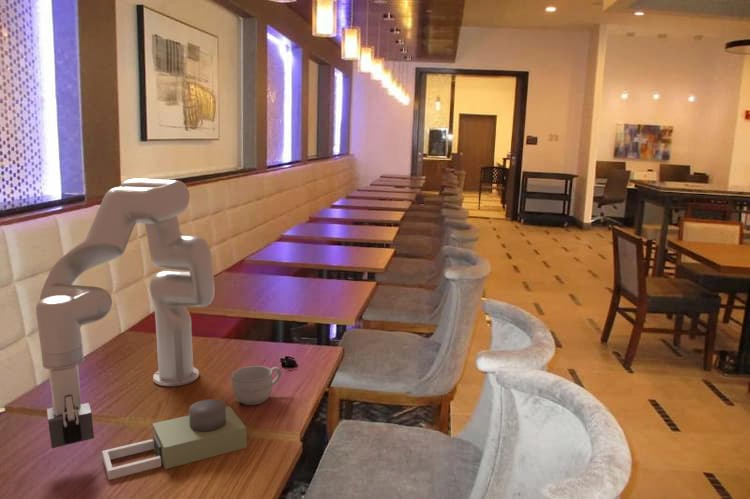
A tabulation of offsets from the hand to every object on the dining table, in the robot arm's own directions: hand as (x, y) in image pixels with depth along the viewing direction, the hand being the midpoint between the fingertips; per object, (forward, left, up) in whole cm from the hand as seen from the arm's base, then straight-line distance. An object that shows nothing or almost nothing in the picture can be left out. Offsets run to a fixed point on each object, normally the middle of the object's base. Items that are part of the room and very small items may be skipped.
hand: (71, 434), depth 129 cm
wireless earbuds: (-29, +61, -8) cm, 68 cm away
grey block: (0, 0, -1) cm, 1 cm away
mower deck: (+5, +20, -7) cm, 22 cm away
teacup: (-11, +46, -7) cm, 48 cm away
